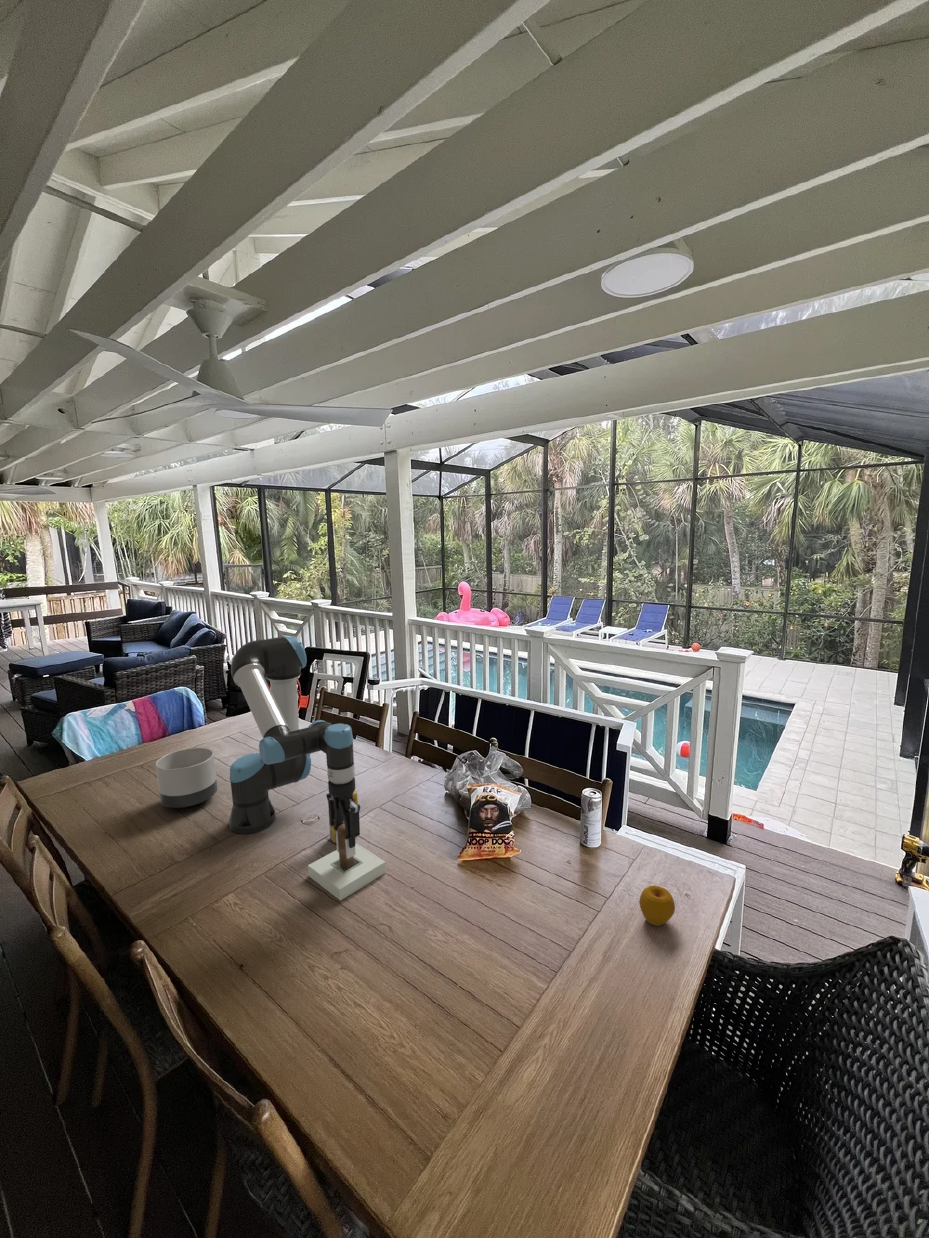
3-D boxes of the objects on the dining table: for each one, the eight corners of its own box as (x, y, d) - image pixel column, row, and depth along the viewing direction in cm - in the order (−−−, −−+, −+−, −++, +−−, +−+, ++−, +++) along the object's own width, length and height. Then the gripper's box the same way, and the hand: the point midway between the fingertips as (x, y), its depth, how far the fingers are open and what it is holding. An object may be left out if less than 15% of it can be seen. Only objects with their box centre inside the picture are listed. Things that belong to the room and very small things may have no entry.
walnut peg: (337, 865, 156) (334, 827, 154) (348, 858, 159) (346, 821, 157) (345, 870, 153) (342, 832, 151) (356, 864, 156) (354, 826, 154)
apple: (670, 939, 130) (671, 907, 128) (634, 926, 134) (636, 894, 133) (676, 917, 137) (678, 886, 136) (643, 905, 141) (644, 875, 140)
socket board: (308, 875, 156) (307, 864, 156) (353, 851, 168) (352, 840, 167) (340, 900, 145) (339, 888, 145) (385, 872, 157) (385, 861, 156)
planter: (148, 809, 195) (143, 764, 192) (193, 786, 213) (188, 744, 210) (187, 819, 188) (181, 773, 185) (229, 794, 206) (225, 751, 203)
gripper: (313, 774, 154) (319, 847, 158) (348, 792, 143) (353, 871, 147) (335, 765, 160) (340, 836, 164) (370, 782, 148) (374, 858, 152)
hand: (346, 852), depth 155 cm, fingers closed on walnut peg, 4 cm apart
